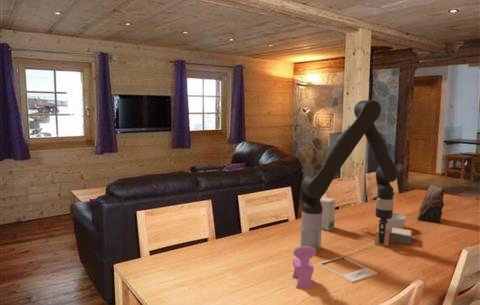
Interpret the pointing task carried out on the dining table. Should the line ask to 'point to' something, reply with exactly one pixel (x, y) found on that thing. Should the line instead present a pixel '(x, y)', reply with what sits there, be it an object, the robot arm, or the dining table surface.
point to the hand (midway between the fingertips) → (382, 241)
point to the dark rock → (432, 205)
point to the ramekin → (396, 221)
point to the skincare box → (328, 213)
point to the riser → (400, 236)
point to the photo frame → (353, 275)
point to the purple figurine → (303, 266)
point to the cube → (386, 238)
